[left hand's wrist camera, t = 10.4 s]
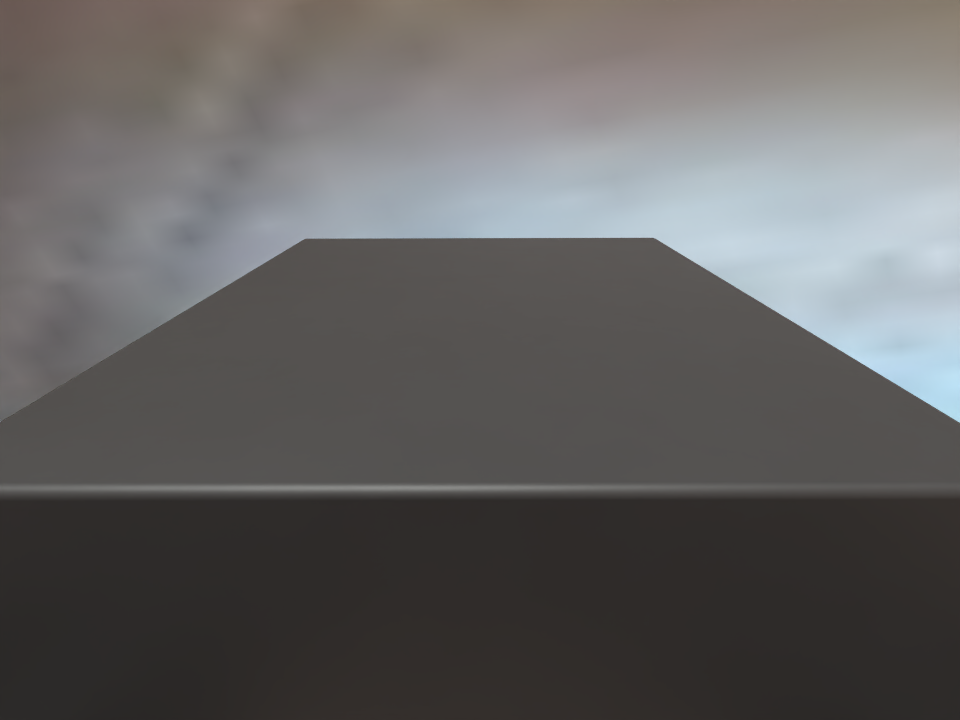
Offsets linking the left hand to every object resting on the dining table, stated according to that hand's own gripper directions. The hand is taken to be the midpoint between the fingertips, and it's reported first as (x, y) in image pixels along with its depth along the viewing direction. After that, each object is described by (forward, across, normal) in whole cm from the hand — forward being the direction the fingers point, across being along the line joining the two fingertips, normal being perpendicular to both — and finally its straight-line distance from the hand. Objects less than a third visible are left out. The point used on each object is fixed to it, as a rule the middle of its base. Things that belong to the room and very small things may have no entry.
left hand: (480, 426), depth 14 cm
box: (+2, 0, -9) cm, 9 cm away
